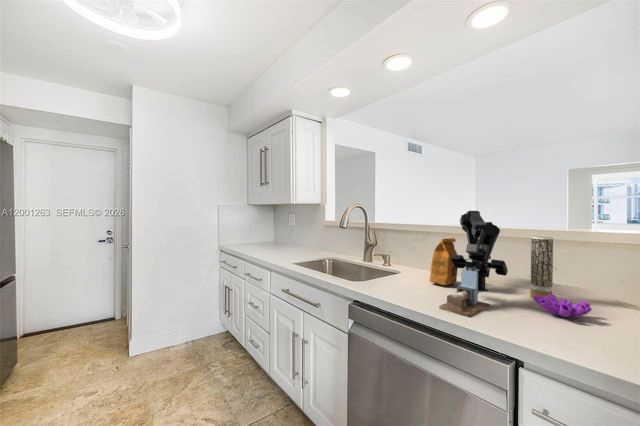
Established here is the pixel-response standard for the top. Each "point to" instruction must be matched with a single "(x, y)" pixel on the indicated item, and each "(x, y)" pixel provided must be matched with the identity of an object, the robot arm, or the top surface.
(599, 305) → the top surface
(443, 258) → the coffee package
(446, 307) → the pipe stand
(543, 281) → the paper tube
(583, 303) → the purple coral
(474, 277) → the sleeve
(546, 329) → the top surface
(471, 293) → the dark grey block
